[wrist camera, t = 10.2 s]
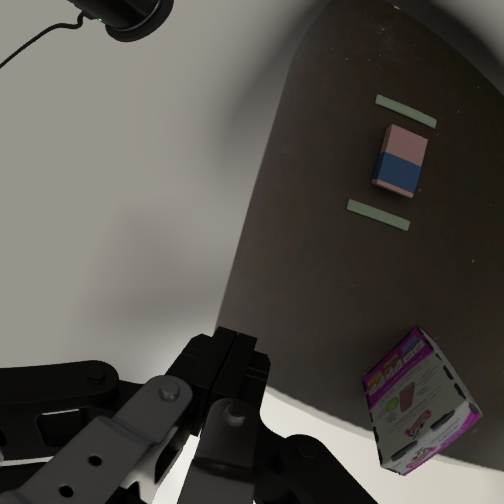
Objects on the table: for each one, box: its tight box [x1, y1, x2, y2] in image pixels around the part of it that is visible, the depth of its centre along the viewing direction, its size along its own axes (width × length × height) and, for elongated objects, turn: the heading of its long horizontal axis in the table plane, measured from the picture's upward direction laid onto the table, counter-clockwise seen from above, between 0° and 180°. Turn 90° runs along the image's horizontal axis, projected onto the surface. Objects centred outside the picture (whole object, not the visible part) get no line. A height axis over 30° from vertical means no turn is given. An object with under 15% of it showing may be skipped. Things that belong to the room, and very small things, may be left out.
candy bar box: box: [362, 326, 483, 476], centre depth 28 cm, size 11×5×16 cm, turn 144°
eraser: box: [372, 124, 428, 198], centre depth 29 cm, size 5×7×3 cm, turn 164°
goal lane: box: [346, 94, 436, 231], centre depth 30 cm, size 8×14×1 cm, turn 165°
